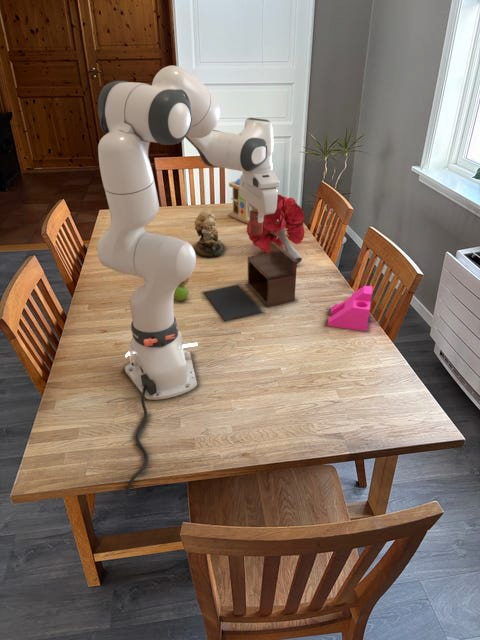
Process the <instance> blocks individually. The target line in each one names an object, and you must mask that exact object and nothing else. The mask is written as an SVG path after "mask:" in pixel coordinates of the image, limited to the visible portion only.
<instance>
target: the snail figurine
mask: <svg viewBox="0 0 480 640" xmlns="http://www.w3.org/2000/svg"><path fill="white" fill-rule="evenodd" d="M189 280H190V277H189V278H188V279H186V280H185V281H183V282H182V283H180V284H179V285H178V286H177V288H176V290H175V292H174V298H173V299H175V300H176V301H180V302H181V301H184V300H186V299H187V298H188V297H189V289H188V287H187V286H186V285H188V283H189Z"/></svg>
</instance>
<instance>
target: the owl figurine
mask: <svg viewBox="0 0 480 640" xmlns="http://www.w3.org/2000/svg"><path fill="white" fill-rule="evenodd" d="M215 217H216V216H215V215H214V214H213V213H212V212H211V210H209V209H204V210H202V211H201V212H199V214H198V216H197V217H196V218H195V220H194V229H195V231H196V234H197V236H198V237H199V240H198V241H197V242H196V244H195V246H194V248H195V249H194V251H195V253H196V254H197V255H199V256H200V257H203V258H204V257H205V258H211V257H214V258H215V257H219V256H222V255H223V253H224V251H225V246H224V244H223V242H221V240H220V239H219V231H218V229H217V226H216V225H217V223H216V218H215Z"/></svg>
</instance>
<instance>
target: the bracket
mask: <svg viewBox="0 0 480 640" xmlns="http://www.w3.org/2000/svg"><path fill="white" fill-rule="evenodd" d="M372 296H373V286H371V285H362V286H361V287H360V288H358V289H357V290H355V291H354V292H352V293H351V296H349V297H348V298H347V299H345V300H344V301H342V302H340V303H339V302H337V303H335V304H334V305H332V306H331V308H330V311H329V315H331V316H329V317H328V321H327V326H329V327H335V328H341V329H347V330H356V331H362V332H367V330H368V323H369V318H370V312H371V304H372V303H371V302H372Z"/></svg>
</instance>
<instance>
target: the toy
mask: <svg viewBox="0 0 480 640" xmlns="http://www.w3.org/2000/svg"><path fill="white" fill-rule="evenodd" d="M258 213H259V212H258V209H257V208H255V207H254V206H253V205H252V210H251V211H250V230H249V233H250V234H252V235H261V234H262V233H263V222H262V223H259V222H257V220H256V219H257V218H256V217H257V216H258Z"/></svg>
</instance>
